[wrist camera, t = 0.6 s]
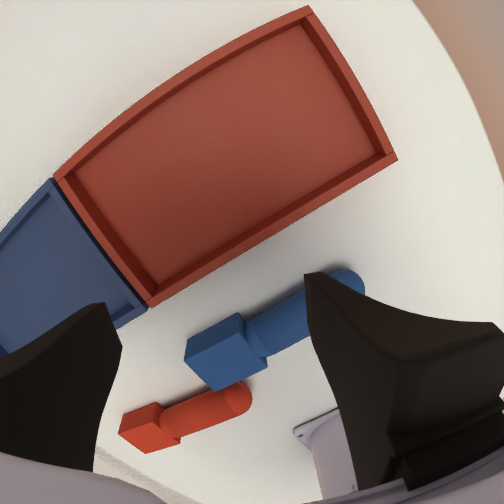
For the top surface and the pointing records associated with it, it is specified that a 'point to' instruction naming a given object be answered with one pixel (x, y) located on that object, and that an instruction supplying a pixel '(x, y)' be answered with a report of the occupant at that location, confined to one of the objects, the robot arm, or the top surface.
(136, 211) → the red tray
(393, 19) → the top surface
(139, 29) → the top surface
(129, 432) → the red block-ended rod
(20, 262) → the blue tray
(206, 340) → the blue block-ended rod
